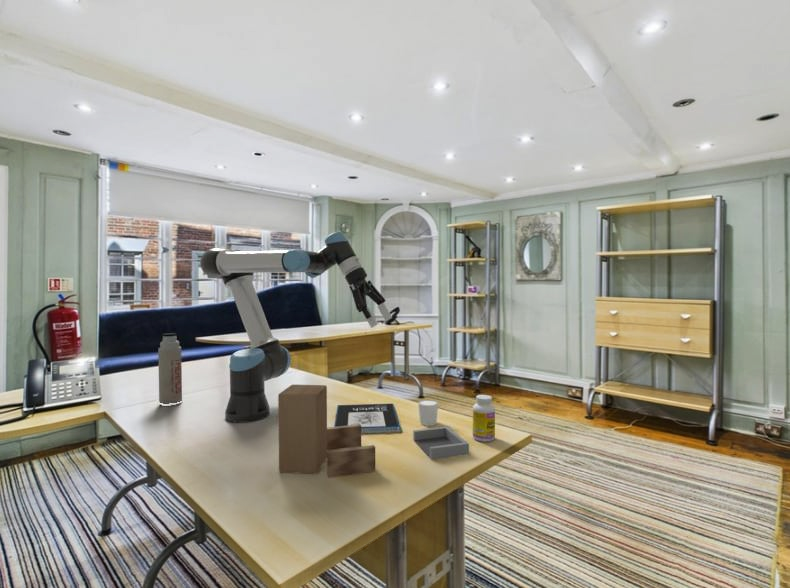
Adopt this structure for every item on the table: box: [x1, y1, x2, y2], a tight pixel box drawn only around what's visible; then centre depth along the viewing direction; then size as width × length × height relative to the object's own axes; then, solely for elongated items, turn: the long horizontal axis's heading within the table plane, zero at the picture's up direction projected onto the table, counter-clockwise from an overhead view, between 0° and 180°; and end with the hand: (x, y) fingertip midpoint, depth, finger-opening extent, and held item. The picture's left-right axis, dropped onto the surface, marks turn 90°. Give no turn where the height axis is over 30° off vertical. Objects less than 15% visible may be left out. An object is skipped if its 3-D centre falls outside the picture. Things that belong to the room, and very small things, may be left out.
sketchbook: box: [333, 402, 402, 435], centre depth 144 cm, size 22×30×2 cm
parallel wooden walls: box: [326, 424, 376, 478], centre depth 110 cm, size 12×18×6 cm, turn 17°
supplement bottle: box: [472, 394, 496, 443], centre depth 125 cm, size 7×7×13 cm
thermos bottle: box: [157, 332, 183, 404], centre depth 162 cm, size 8×8×28 cm
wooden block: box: [277, 384, 328, 475], centre depth 107 cm, size 10×10×20 cm
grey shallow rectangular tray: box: [412, 426, 470, 460], centre depth 118 cm, size 11×14×3 cm
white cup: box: [417, 399, 439, 427], centre depth 139 cm, size 7×7×7 cm
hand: (382, 322), depth 146 cm, fingers open, 13 cm apart
